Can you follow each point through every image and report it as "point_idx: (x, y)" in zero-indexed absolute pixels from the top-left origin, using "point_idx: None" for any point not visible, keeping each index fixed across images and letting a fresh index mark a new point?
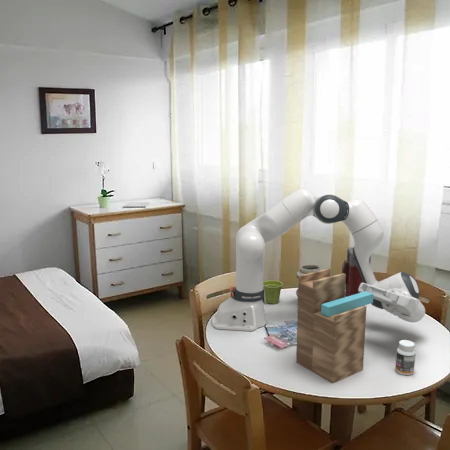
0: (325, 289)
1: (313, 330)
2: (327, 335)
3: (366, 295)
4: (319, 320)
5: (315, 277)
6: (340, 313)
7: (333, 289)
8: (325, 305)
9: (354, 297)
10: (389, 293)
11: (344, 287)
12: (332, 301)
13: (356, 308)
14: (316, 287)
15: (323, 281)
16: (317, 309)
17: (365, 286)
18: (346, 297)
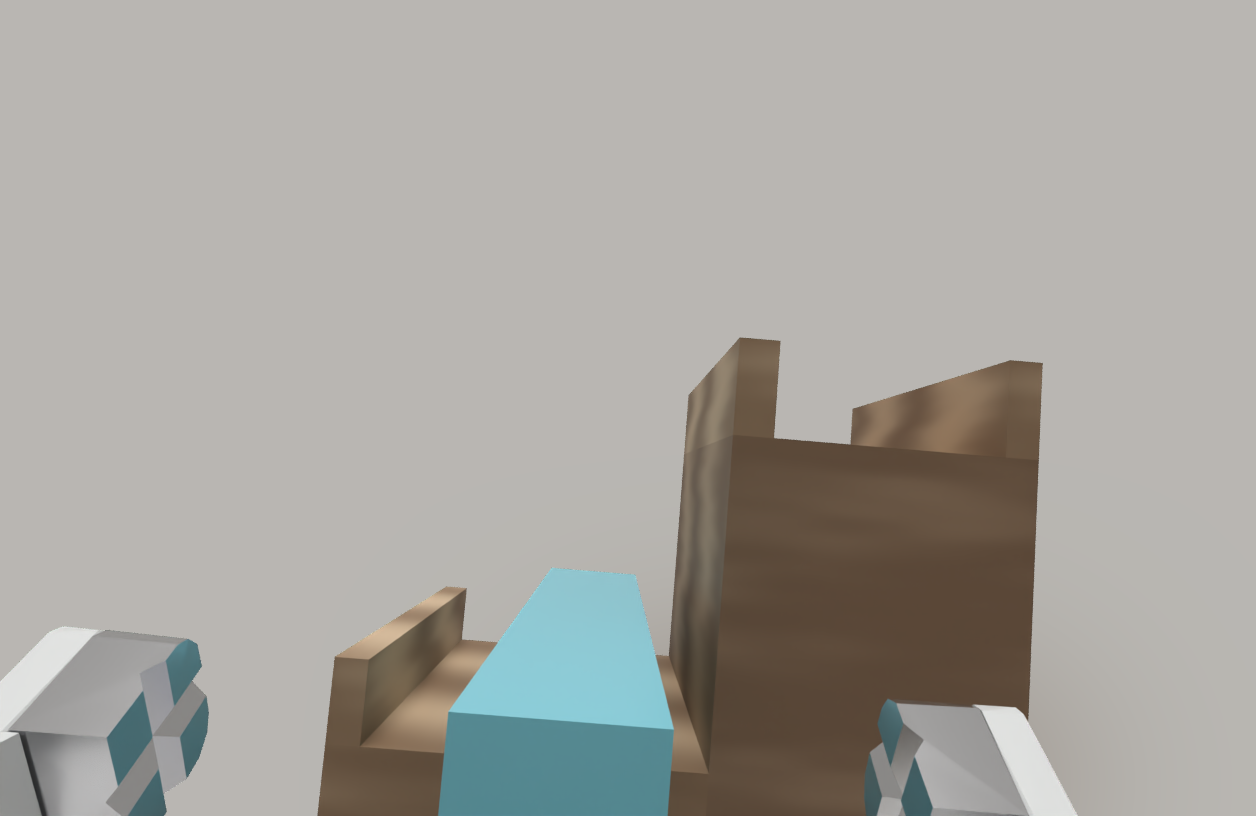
0: (692, 479)
1: None
2: None
3: (497, 667)
4: None
5: (909, 441)
6: (452, 597)
7: (702, 503)
8: (597, 572)
9: (567, 627)
10: (23, 692)
11: (723, 524)
12: (630, 589)
13: (402, 629)
14: (687, 443)
15: (697, 401)
16: (673, 638)
17: (890, 762)
18: (630, 617)
